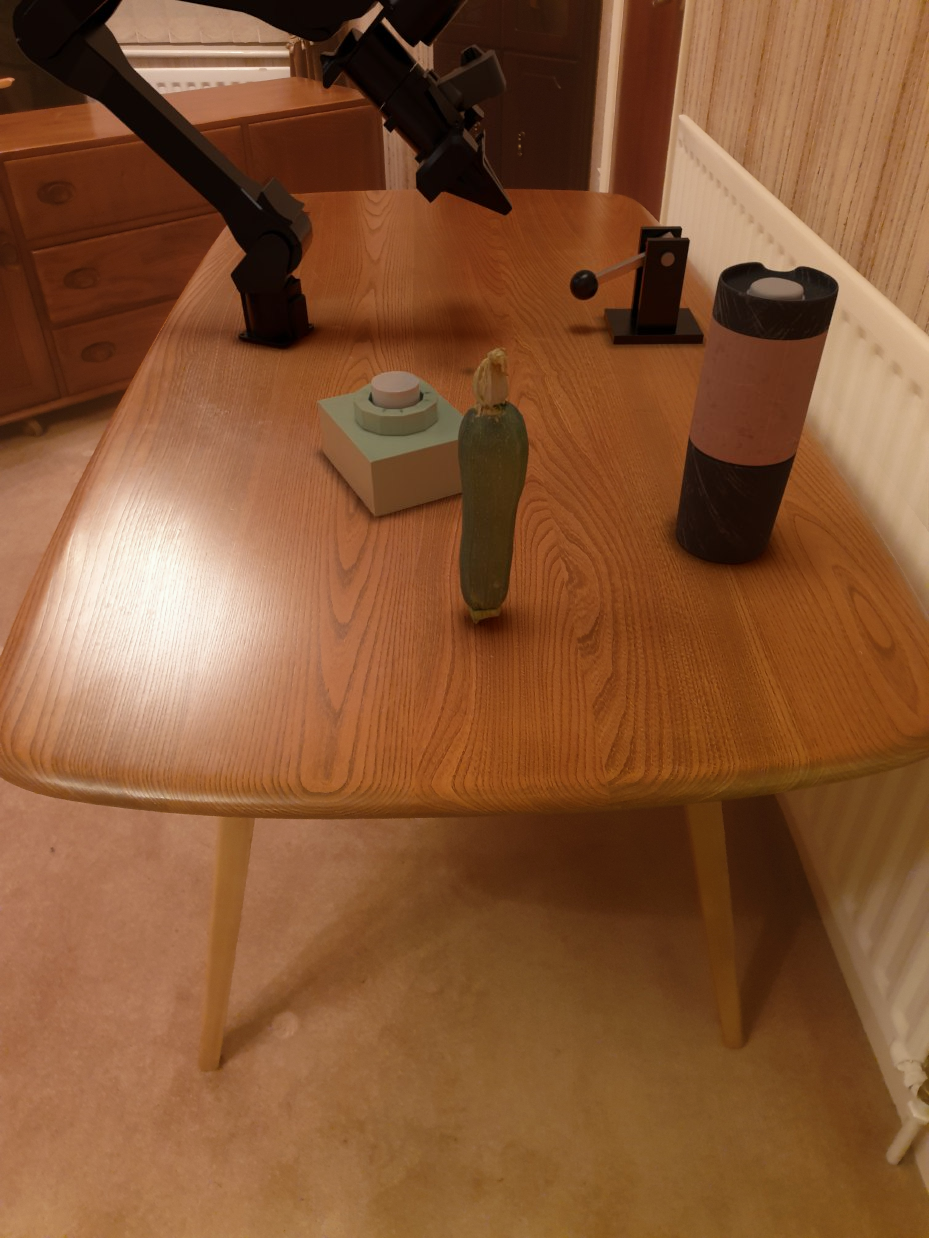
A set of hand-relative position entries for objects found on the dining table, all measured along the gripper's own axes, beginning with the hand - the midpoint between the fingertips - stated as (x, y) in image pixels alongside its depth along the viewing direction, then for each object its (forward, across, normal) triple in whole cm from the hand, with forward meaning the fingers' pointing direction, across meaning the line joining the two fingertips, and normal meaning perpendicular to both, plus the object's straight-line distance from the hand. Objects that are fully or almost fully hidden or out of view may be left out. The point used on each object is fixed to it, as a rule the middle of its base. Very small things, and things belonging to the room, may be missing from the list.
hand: (509, 211), depth 90 cm
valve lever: (+15, +3, -4) cm, 16 cm away
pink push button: (-1, -29, +11) cm, 31 cm away
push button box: (+3, -29, +16) cm, 34 cm away
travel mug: (+22, -38, -3) cm, 45 cm away
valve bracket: (+22, +3, -2) cm, 22 cm away
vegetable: (+10, -49, +10) cm, 51 cm away
